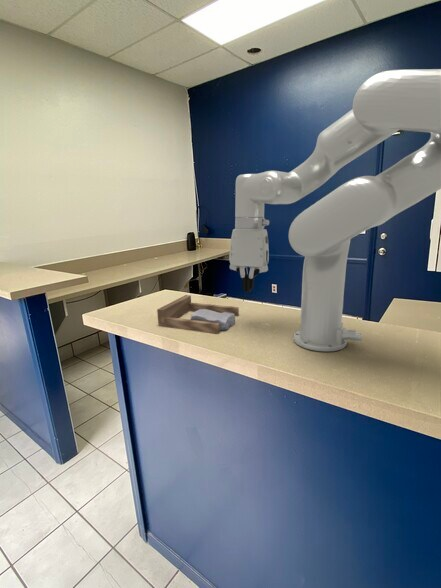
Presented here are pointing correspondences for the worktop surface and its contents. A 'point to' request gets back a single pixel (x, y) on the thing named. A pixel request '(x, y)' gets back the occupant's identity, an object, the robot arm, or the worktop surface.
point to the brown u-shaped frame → (179, 307)
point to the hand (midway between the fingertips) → (247, 291)
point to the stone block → (214, 318)
